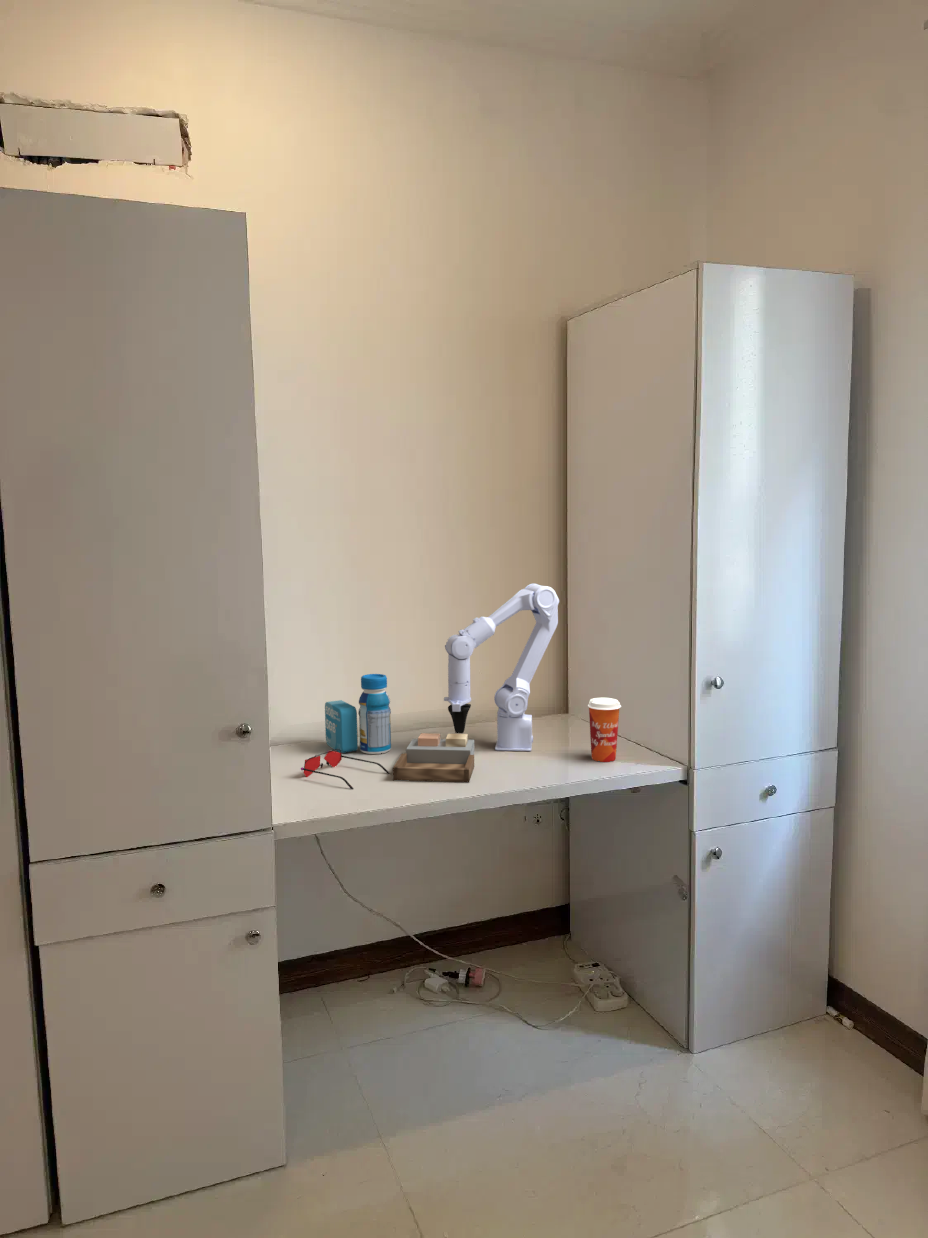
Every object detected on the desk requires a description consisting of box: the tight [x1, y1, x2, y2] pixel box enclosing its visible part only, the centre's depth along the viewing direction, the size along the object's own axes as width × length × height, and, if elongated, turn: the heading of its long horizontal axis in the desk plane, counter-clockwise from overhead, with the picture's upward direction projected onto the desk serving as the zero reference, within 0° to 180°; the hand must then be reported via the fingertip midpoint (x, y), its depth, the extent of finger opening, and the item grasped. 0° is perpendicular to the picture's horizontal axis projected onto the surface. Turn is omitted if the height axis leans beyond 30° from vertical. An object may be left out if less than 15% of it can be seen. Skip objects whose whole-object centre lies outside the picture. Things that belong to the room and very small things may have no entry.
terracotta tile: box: [417, 732, 441, 746], centre depth 222 cm, size 5×5×2 cm
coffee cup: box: [587, 697, 622, 763], centre depth 221 cm, size 8×8×15 cm
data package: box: [324, 699, 359, 754], centre depth 233 cm, size 12×4×12 cm, turn 30°
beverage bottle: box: [357, 673, 392, 755], centre depth 230 cm, size 8×8×20 cm
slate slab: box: [405, 738, 475, 764], centre depth 222 cm, size 16×10×4 cm, turn 84°
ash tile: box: [445, 733, 469, 747], centre depth 222 cm, size 5×5×2 cm
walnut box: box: [392, 752, 475, 783], centre depth 211 cm, size 18×12×3 cm
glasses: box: [300, 749, 391, 790], centre depth 210 cm, size 14×16×5 cm
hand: (459, 732), depth 229 cm, fingers closed
